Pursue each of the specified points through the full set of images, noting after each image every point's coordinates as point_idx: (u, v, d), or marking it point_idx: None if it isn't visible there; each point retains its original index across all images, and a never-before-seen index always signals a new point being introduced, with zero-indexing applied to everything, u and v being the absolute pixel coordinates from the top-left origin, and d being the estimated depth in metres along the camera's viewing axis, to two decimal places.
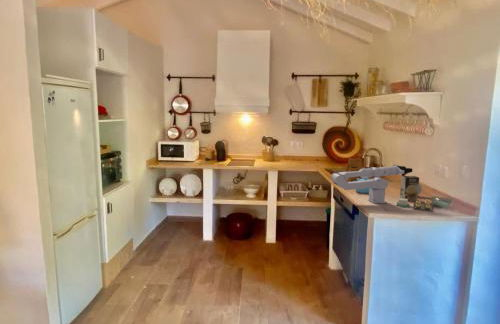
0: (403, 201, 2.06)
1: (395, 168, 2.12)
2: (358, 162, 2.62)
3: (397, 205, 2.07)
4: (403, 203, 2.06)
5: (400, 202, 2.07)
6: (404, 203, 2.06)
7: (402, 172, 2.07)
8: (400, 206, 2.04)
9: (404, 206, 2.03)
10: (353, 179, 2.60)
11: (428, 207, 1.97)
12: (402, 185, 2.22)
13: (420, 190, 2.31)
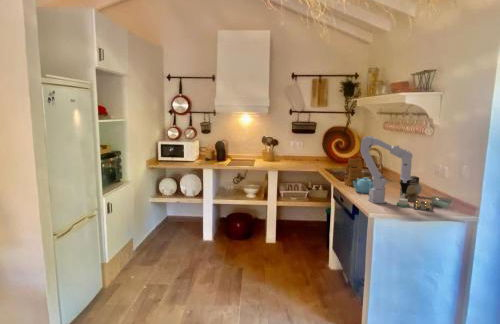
0: (403, 201, 2.06)
1: (408, 176, 2.03)
2: (358, 162, 2.62)
3: (397, 205, 2.07)
4: (403, 203, 2.06)
5: (400, 202, 2.07)
6: (404, 203, 2.06)
7: (404, 181, 1.99)
8: (400, 206, 2.04)
9: (404, 206, 2.03)
10: (353, 179, 2.60)
11: (428, 207, 1.97)
12: None
13: (420, 190, 2.31)
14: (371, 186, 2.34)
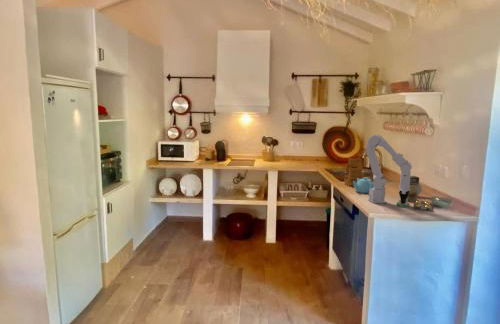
0: None
1: (407, 187, 2.04)
2: (358, 162, 2.62)
3: (397, 205, 2.07)
4: None
5: (400, 202, 2.07)
6: None
7: (403, 192, 2.00)
8: (400, 206, 2.04)
9: (404, 206, 2.03)
10: (353, 179, 2.60)
11: (428, 207, 1.97)
12: None
13: (420, 190, 2.31)
14: (371, 186, 2.34)
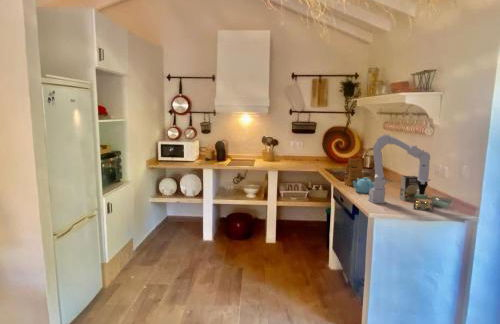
0: None
1: (426, 178, 1.98)
2: (358, 162, 2.62)
3: (415, 196, 2.02)
4: None
5: (418, 193, 2.02)
6: None
7: (422, 182, 1.95)
8: (418, 197, 1.99)
9: (423, 197, 1.98)
10: (353, 179, 2.60)
11: (428, 207, 1.97)
12: (402, 185, 2.22)
13: None
14: (371, 186, 2.34)
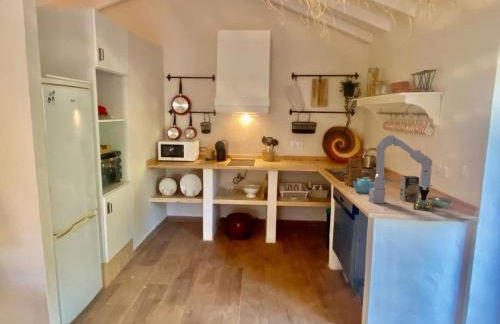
0: None
1: (428, 183, 1.98)
2: (358, 162, 2.62)
3: (417, 203, 2.02)
4: (423, 201, 2.01)
5: (420, 200, 2.02)
6: (424, 201, 2.01)
7: (424, 188, 1.95)
8: (420, 204, 1.99)
9: (424, 204, 1.98)
10: (353, 179, 2.60)
11: (428, 207, 1.97)
12: (402, 185, 2.22)
13: None
14: (371, 186, 2.34)
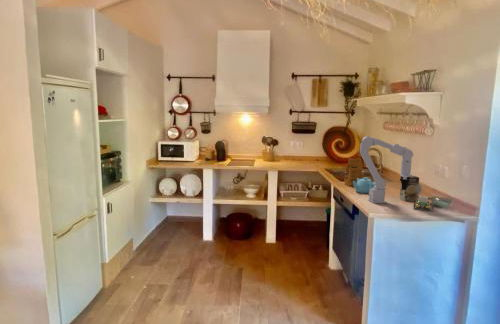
0: (423, 199, 2.01)
1: (408, 173, 2.07)
2: (358, 162, 2.62)
3: (417, 203, 2.02)
4: (423, 201, 2.01)
5: (420, 200, 2.02)
6: (424, 201, 2.01)
7: (404, 177, 2.04)
8: (420, 204, 1.99)
9: (424, 204, 1.98)
10: (353, 179, 2.60)
11: (428, 207, 1.97)
12: None
13: (420, 190, 2.31)
14: (371, 186, 2.34)
